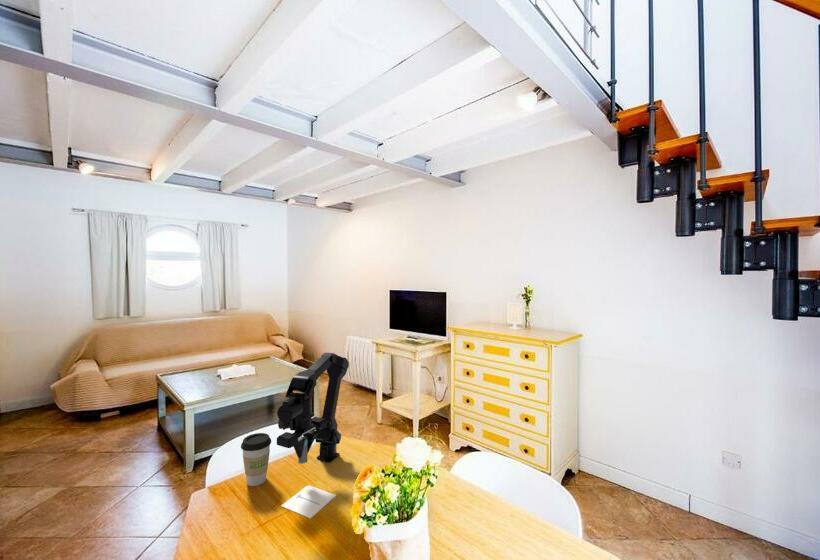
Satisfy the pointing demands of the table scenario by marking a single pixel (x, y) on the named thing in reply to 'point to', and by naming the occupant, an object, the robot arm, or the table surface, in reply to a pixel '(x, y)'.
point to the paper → (308, 501)
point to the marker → (304, 452)
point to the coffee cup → (256, 457)
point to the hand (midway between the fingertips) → (302, 455)
